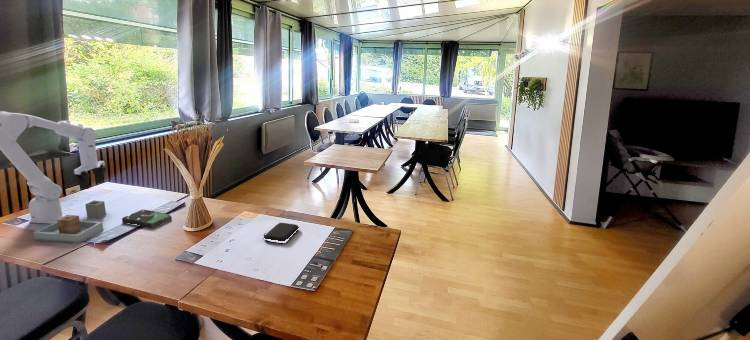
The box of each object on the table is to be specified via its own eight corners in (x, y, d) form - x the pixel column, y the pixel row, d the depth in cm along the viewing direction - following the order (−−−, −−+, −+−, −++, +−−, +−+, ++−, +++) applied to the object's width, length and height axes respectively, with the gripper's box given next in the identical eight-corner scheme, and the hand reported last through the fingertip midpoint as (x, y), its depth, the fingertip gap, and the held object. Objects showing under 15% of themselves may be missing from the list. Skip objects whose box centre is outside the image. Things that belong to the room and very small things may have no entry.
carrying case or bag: (276, 227, 159) (259, 242, 146) (276, 220, 159) (259, 235, 145) (300, 230, 158) (285, 246, 144) (300, 223, 157) (285, 239, 143)
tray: (34, 240, 137) (33, 232, 136) (62, 226, 148) (61, 219, 148) (78, 243, 136) (77, 235, 136) (103, 229, 148) (102, 222, 147)
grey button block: (87, 218, 157) (85, 204, 155) (95, 213, 161) (93, 200, 159) (98, 218, 157) (96, 204, 155) (106, 214, 161) (104, 201, 159)
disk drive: (122, 224, 154) (152, 229, 151) (121, 218, 154) (152, 223, 150) (143, 215, 164) (172, 220, 161) (142, 209, 163) (171, 213, 160)
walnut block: (59, 234, 140) (56, 219, 138) (69, 229, 144) (66, 214, 143) (71, 235, 140) (68, 220, 138) (81, 230, 144) (78, 215, 143)
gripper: (84, 160, 155) (89, 191, 159) (109, 151, 169) (113, 181, 173) (67, 158, 156) (72, 190, 159) (94, 150, 170) (98, 180, 173)
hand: (92, 185), depth 166 cm, fingers open, 7 cm apart
